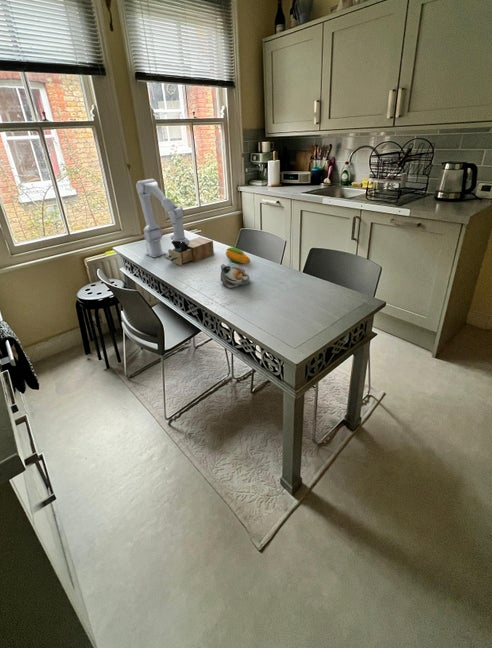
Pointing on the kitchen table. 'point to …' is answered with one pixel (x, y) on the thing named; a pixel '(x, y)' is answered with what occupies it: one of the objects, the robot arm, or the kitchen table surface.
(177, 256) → the drawer
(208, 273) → the kitchen table surface
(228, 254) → the corn
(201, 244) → the cabinet
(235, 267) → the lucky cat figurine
